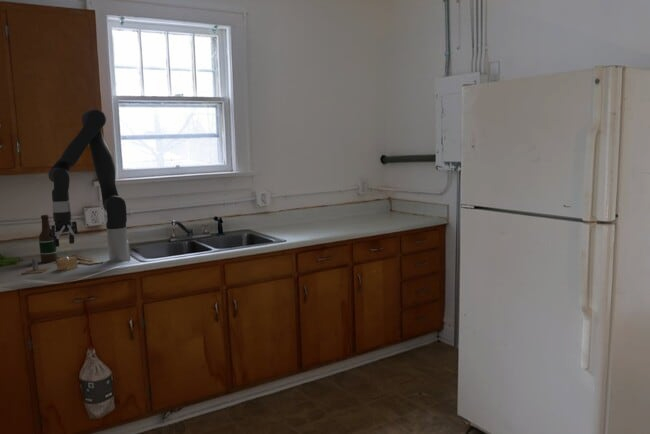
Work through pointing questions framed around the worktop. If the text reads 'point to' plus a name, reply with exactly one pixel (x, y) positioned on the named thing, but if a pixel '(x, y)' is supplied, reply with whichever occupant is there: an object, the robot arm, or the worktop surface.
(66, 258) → the charcoal stand
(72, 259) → the brown slotted box
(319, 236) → the worktop surface
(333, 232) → the worktop surface
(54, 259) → the beer bottle
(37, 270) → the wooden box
